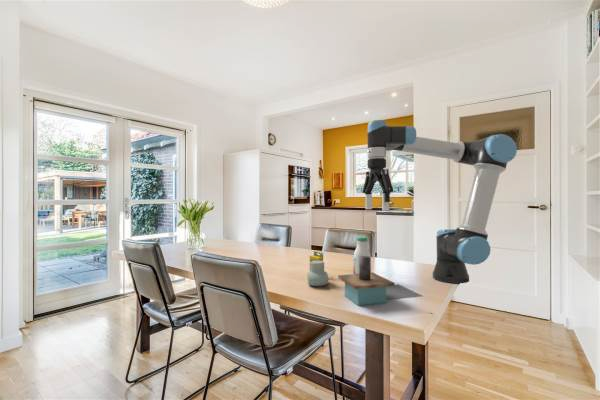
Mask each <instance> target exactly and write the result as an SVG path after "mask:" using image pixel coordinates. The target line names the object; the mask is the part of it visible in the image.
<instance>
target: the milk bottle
mask: <svg viewBox="0 0 600 400" xmlns="http://www.w3.org/2000/svg"><path fill="white" fill-rule="evenodd" d="M356 242H357V245H356V247H355V250H354V252H353V274H359V257H360V256H368V257H370V273H372V257H371V252H370V249H369V247H368V237H366V236H358V237H357V238H356Z"/></svg>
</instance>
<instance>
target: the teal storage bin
mask: <svg viewBox="0 0 600 400" xmlns="http://www.w3.org/2000/svg"><path fill="white" fill-rule="evenodd" d="M344 297H345V298H347V299H348V300H349V301H350V302H352V303H353V304H355V305H356V306H357V307H362V306H363V307H364V306H369V305H381V304H386V303H387V300H386V287H375V288H364V289H354V288H353V287H351V286H350V285H348V284H346V283H345V282H344Z"/></svg>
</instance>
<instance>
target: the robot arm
mask: <svg viewBox="0 0 600 400" xmlns="http://www.w3.org/2000/svg"><path fill="white" fill-rule="evenodd" d="M366 132H367V150H366V152H367V169H369V171H365V179H364V184H363V188H362V193H363V194H364V195H365V210H373V193H372V192H373V188H374V186H375V184H376V183H377V182H378V184H379V186H380V189H381V190H382V193H381V194H382V195H381V197H382V198H381V199H382V200H381V201H382V203H381V204H382V205H381V209H382V210H381V211H384V212H385V211H390V198H391V197H390V196H391V195H390V194H391V193H393V192H394V187H393V185H392V181H391V177H390V174H389V168H387V152H390V151H397V152H405V153H411V154H417V155H423V156H429V157H430V156H431V157H435V158H441V159H446V160H447V159H448V160H452V161H453V162H454V163H458V164H459V163H460V164H465V165H470V166H473V168H474V170H475V174H474V176H473V182H472V185H471V190H470V193H469V196H468V200H467V205H466V208H465V211H464V212H465V213H464V216H463V219H462V223H461V224H460V225H458V226H457V227H456V229H451V228H450V229H439V230H437V231H436V263H435V266H434V269H433V271H432V278H433V279H434V280H436V281H439V282H442V283H450V284H465V283H469V282H470V275H469V273H468V270H467V266H466V265H474V266H476V265H480V264H482V263H484V262H486V260H487V259H488V258H489V256H490V254H491V245H490V243H489V241H488V236H489V234H488V233H487V231H486V228H487V223H488V219H489V216H490V212H491V209H492V205H493V201H494V196H495V193H496V190H497V186H498V182H499V179H500V178H499V177H500V174H502V173H504V172H505V171H506V169H507V165H508V163H509V162H511V161H512V160H514V159H515V158H516V155H517V153H518V149H517V144H516V142H515V141H514V139H513V138H512V137H510V136H509V135H507V134H504V133H503V134H502V133H500V134H493V135H492V134H491V135H489V136H488V137H485V138H482V139H478V140H474V141H458V142H453V141H452V142H451V141H445V140H441V139H434V138H428V137H421V136H417V130H416V127H414V126H412V125H409V126H408V125H387V121H386V120H382V119H376V120H371V121H369V122H368V124H367V131H366Z"/></svg>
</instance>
